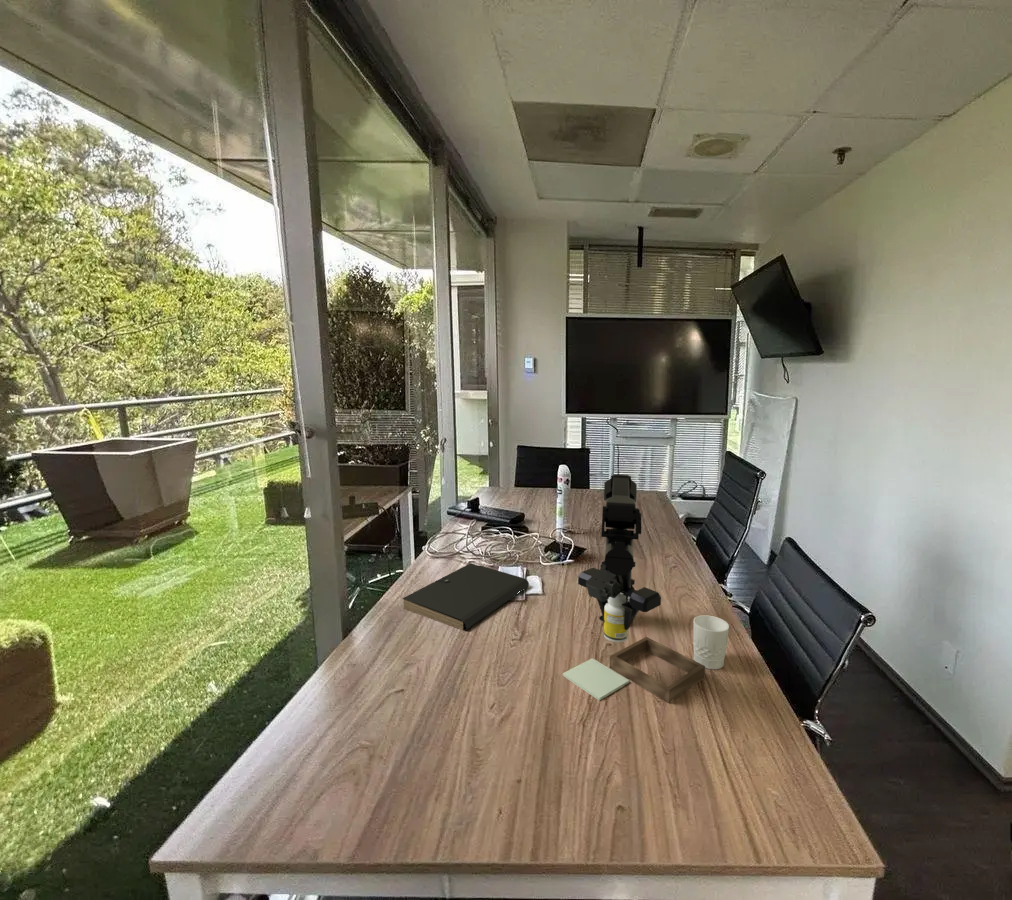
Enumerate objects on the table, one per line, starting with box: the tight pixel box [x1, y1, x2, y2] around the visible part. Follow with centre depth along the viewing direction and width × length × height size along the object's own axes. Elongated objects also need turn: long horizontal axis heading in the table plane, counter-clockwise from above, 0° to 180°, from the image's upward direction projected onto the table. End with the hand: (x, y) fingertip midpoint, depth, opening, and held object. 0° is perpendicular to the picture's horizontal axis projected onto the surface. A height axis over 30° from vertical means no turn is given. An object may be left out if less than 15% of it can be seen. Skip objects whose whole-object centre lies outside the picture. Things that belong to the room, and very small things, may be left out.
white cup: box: [692, 614, 730, 670], centre depth 117 cm, size 8×8×10 cm
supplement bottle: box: [603, 593, 629, 644], centre depth 109 cm, size 5×5×10 cm
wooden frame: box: [608, 636, 706, 704], centre depth 113 cm, size 16×14×3 cm
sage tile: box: [562, 657, 630, 701], centre depth 110 cm, size 11×10×1 cm
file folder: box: [401, 563, 530, 632], centre depth 151 cm, size 33×4×24 cm
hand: (616, 624), depth 109 cm, fingers closed on supplement bottle, 5 cm apart
